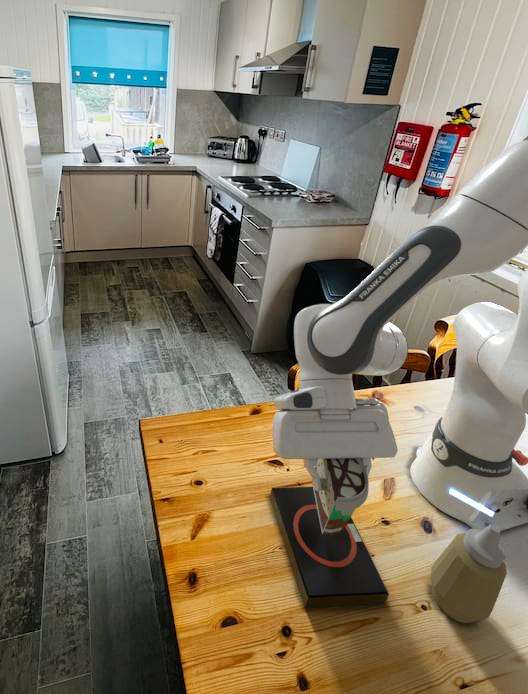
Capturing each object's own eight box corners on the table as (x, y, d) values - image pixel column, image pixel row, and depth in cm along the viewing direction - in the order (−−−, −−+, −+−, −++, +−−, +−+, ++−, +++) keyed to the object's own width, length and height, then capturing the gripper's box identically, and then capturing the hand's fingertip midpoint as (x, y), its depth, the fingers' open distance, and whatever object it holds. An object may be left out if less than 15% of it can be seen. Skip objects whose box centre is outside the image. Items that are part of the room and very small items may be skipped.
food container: (365, 552, 60) (383, 509, 56) (324, 544, 61) (338, 500, 57) (345, 479, 71) (358, 439, 67) (310, 473, 72) (321, 433, 68)
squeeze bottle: (417, 599, 63) (455, 526, 56) (431, 561, 68) (467, 490, 61) (478, 647, 58) (529, 573, 51) (488, 602, 63) (535, 529, 56)
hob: (333, 495, 78) (336, 484, 77) (384, 604, 62) (389, 592, 61) (269, 497, 77) (272, 486, 76) (304, 608, 61) (308, 596, 60)
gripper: (374, 399, 72) (390, 485, 67) (265, 399, 70) (273, 487, 65) (395, 397, 66) (414, 492, 61) (277, 397, 65) (287, 495, 60)
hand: (340, 489), depth 63 cm, fingers closed on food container, 5 cm apart
